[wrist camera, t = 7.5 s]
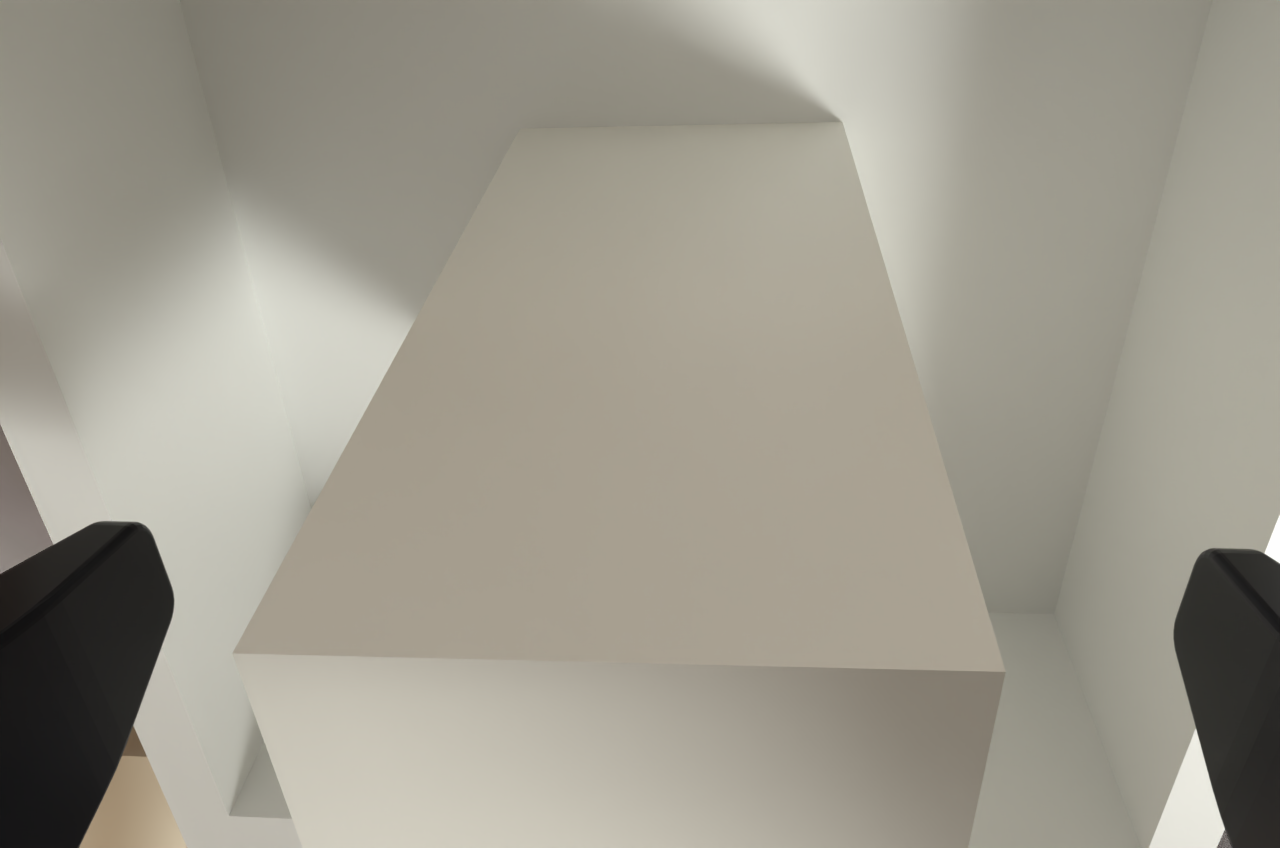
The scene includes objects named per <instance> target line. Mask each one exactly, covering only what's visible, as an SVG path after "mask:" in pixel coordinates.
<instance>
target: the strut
mask: <svg viewBox="0 0 1280 848" xmlns="http://www.w3.org/2000/svg"><path fill="white" fill-rule="evenodd" d="M232 654H233V657H234V660H235V662H236V665H237V668H238V671H239V674H240V676H241V679H242V682H243V685H244V687H245V690H246V693H247V696H248V698H249V701H250V704H251V707H252V709H253V712H254V715H255V718H256V720H257V723H258V726H259V729H260V732H261V734H262V737H263V740H264V743H265V745H266V748H267V751H268V754H269V756H270V759H271V762H272V765H273V767H274V770H275V773H276V776H277V778H278V781H279V784H280V787H281V789H282V792H283V795H284V798H285V801H286V803H287V806H288V809H289V812H290V814H291V817H292V820H293V823H294V825H295V828H296V831H297V834H298V836H299V839H300V842H301V845H302V847H303V848H968V846H969V842H970V837H971V832H972V828H973V823H974V818H975V813H976V809H977V804H978V799H979V795H980V790H981V785H982V781H983V776H984V771H985V767H986V762H987V757H988V753H989V748H990V743H991V739H992V734H993V729H994V725H995V720H996V715H997V711H998V706H999V701H1000V696H1001V692H1002V687H1003V682H1004V678H1005V673H1006V671H1005V668H1004V664H1003V661H1002V658H1001V654H1000V651H999V647H998V644H997V641H996V637H995V634H994V631H993V627H992V624H991V621H990V617H989V614H988V610H987V607H986V604H985V600H984V597H983V594H982V590H981V587H980V583H979V580H978V577H977V573H976V570H975V567H974V563H973V560H972V557H971V553H970V550H969V546H968V543H967V540H966V536H965V533H964V530H963V526H962V523H961V519H960V516H959V513H958V509H957V506H956V503H955V499H954V496H953V492H952V489H951V486H950V482H949V479H948V476H947V472H946V469H945V466H944V462H943V459H942V455H941V452H940V449H939V445H938V442H937V439H936V435H935V432H934V428H933V425H932V422H931V418H930V415H929V412H928V408H927V405H926V402H925V398H924V395H923V391H922V388H921V385H920V381H919V378H918V375H917V371H916V368H915V364H914V361H913V358H912V354H911V351H910V348H909V344H908V341H907V337H906V334H905V331H904V327H903V324H902V321H901V317H900V314H899V311H898V307H897V304H896V300H895V297H894V294H893V290H892V287H891V284H890V280H889V277H888V273H887V270H886V267H885V263H884V260H883V257H882V253H881V250H880V247H879V243H878V240H877V236H876V233H875V230H874V226H873V223H872V220H871V216H870V213H869V209H868V206H867V203H866V199H865V196H864V193H863V189H862V186H861V182H860V179H859V176H858V172H857V169H856V166H855V162H854V159H853V156H852V152H851V149H850V145H849V142H848V139H847V135H846V132H845V129H844V125H843V122H814V123H765V124H715V125H666V126H617V127H568V128H520V130H519V132H518V133H517V135H516V137H515V139H514V141H513V143H512V144H511V146H510V148H509V150H508V152H507V153H506V155H505V157H504V159H503V161H502V163H501V164H500V166H499V168H498V170H497V172H496V174H495V175H494V177H493V179H492V181H491V183H490V184H489V186H488V188H487V190H486V192H485V194H484V195H483V197H482V199H481V201H480V203H479V205H478V206H477V208H476V210H475V212H474V214H473V215H472V217H471V219H470V221H469V223H468V225H467V226H466V228H465V230H464V232H463V234H462V236H461V237H460V239H459V241H458V243H457V245H456V246H455V248H454V250H453V252H452V254H451V256H450V257H449V259H448V261H447V263H446V265H445V267H444V268H443V270H442V272H441V274H440V276H439V277H438V279H437V281H436V283H435V285H434V287H433V288H432V290H431V292H430V294H429V296H428V297H427V299H426V301H425V303H424V305H423V307H422V308H421V310H420V312H419V314H418V316H417V318H416V319H415V321H414V323H413V325H412V327H411V328H410V330H409V332H408V334H407V336H406V338H405V339H404V341H403V343H402V345H401V347H400V349H399V350H398V352H397V354H396V356H395V358H394V359H393V361H392V363H391V365H390V367H389V369H388V370H387V372H386V374H385V376H384V378H383V380H382V381H381V383H380V385H379V387H378V389H377V390H376V392H375V394H374V396H373V398H372V400H371V401H370V403H369V405H368V407H367V409H366V411H365V412H364V414H363V416H362V418H361V420H360V421H359V423H358V425H357V427H356V429H355V431H354V432H353V434H352V436H351V438H350V440H349V441H348V443H347V445H346V447H345V449H344V451H343V452H342V454H341V456H340V458H339V460H338V462H337V463H336V465H335V467H334V469H333V471H332V472H331V474H330V476H329V478H328V480H327V482H326V483H325V485H324V487H323V489H322V491H321V493H320V494H319V496H318V498H317V500H316V502H315V503H314V505H313V507H312V509H311V511H310V513H309V514H308V516H307V518H306V520H305V522H304V524H303V525H302V527H301V529H300V531H299V533H298V534H297V536H296V538H295V540H294V542H293V544H292V545H291V547H290V549H289V551H288V553H287V554H286V556H285V558H284V560H283V562H282V564H281V565H280V567H279V569H278V571H277V573H276V575H275V576H274V578H273V580H272V582H271V584H270V585H269V587H268V589H267V591H266V593H265V595H264V596H263V598H262V600H261V602H260V604H259V606H258V607H257V609H256V611H255V613H254V615H253V616H252V618H251V620H250V622H249V624H248V626H247V627H246V629H245V631H244V633H243V635H242V637H241V638H240V640H239V642H238V644H237V646H236V647H235V649H234V651H233V653H232Z"/></svg>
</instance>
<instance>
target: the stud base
mask: <svg viewBox="0 0 1280 848" xmlns="http://www.w3.org/2000/svg"><path fill="white" fill-rule="evenodd" d="M79 848H187V846H186V844H185V841H184V839H183V837H182V835H181V832H180V830H179V828H178V825H177V823H176V821H175V819H174V816H173V814H172V812H171V810H170V807H169V805H168V803H167V801H166V798H165V796H164V794H163V792H162V789H161V787H160V785H159V782H158V780H157V778H156V776H155V773H154V771H153V769H152V767H151V764H150V762H149V760H148V758H147V755H146V753H145V751H144V749H143V746H142V744H141V742H140V739H139V737H138V735H137V733H136V730H135V728H134V726H133V728H132V731H131V733H130V736H129V739H128V742H127V744H126V747H125V749H124V752H123V754H122V757H121V759H120V762H119V764H118V767H117V769H116V771H115V774H114V776H113V778H112V780H111V782H110V785H109V787H108V789H107V791H106V793H105V795H104V798H103V800H102V802H101V804H100V806H99V808H98V810H97V812H96V814H95V816H94V818H93V820H92V822H91V824H90V826H89V828H88V830H87V832H86V834H85V836H84V839H83V841H82V843H81V845H80V847H79Z"/></svg>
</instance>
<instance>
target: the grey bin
mask: <svg viewBox="0 0 1280 848" xmlns="http://www.w3.org/2000/svg"><path fill="white" fill-rule="evenodd" d="M814 122H843V125H844V129H845V132H846V135H847V139H848V142H849V145H850V149H851V152H852V156H853V159H854V162H855V166H856V169H857V172H858V176H859V179H860V182H861V186H862V189H863V193H864V196H865V199H866V203H867V206H868V209H869V213H870V216H871V220H872V223H873V226H874V230H875V233H876V236H877V240H878V243H879V247H880V250H881V253H882V257H883V260H884V263H885V267H886V270H887V273H888V277H889V280H890V284H891V287H892V290H893V294H894V297H895V300H896V304H897V307H898V311H899V314H900V317H901V321H902V324H903V327H904V331H905V334H906V337H907V341H908V344H909V348H910V351H911V354H912V358H913V361H914V364H915V368H916V371H917V375H918V378H919V381H920V385H921V388H922V391H923V395H924V398H925V402H926V405H927V408H928V412H929V415H930V418H931V422H932V425H933V428H934V432H935V435H936V439H937V442H938V445H939V449H940V452H941V455H942V459H943V462H944V466H945V469H946V472H947V476H948V479H949V482H950V486H951V489H952V492H953V496H954V499H955V503H956V506H957V509H958V513H959V516H960V519H961V523H962V526H963V530H964V533H965V536H966V540H967V543H968V546H969V550H970V553H971V557H972V560H973V563H974V567H975V570H976V573H977V577H978V580H979V583H980V587H981V590H982V594H983V597H984V600H985V604H986V607H987V610H988V614H989V617H990V621H991V624H992V627H993V631H994V634H995V637H996V641H997V644H998V647H999V651H1000V654H1001V658H1002V661H1003V664H1004V668H1005V671H1006V673H1005V678H1004V682H1003V687H1002V692H1001V696H1000V701H999V706H998V711H997V715H996V720H995V725H994V729H993V734H992V739H991V743H990V748H989V753H988V757H987V762H986V767H985V771H984V776H983V781H982V785H981V790H980V795H979V799H978V804H977V809H976V813H975V818H974V823H973V828H972V832H971V837H970V842H969V846H968V848H1217V846H1218V844H1219V841H1220V839H1221V837H1222V835H1223V833H1224V830H1225V828H1224V825H1223V822H1222V819H1221V816H1220V813H1219V810H1218V806H1217V803H1216V800H1215V796H1214V793H1213V790H1212V786H1211V782H1210V779H1209V775H1208V771H1207V768H1206V764H1205V760H1204V756H1203V753H1202V749H1201V745H1200V741H1199V738H1198V734H1197V730H1196V727H1195V723H1194V719H1193V715H1192V712H1191V708H1190V704H1189V701H1188V697H1187V693H1186V689H1185V686H1184V682H1183V678H1182V675H1181V671H1180V667H1179V663H1178V660H1177V656H1176V652H1175V648H1174V640H1173V630H1174V622H1175V619H1176V615H1177V612H1178V610H1179V607H1180V604H1181V601H1182V598H1183V595H1184V592H1185V589H1186V586H1187V584H1188V581H1189V578H1190V575H1191V572H1192V569H1193V566H1194V564H1195V562H1196V559H1197V557H1198V556H1199V555H1200V554H1201V553H1202V552H1203V551H1205V550H1207V549H1210V548H1235V549H1254V550H1258V551H1261V552H1263V553H1264V554H1266V555H1268V556H1269V557H1271V558H1272V559H1274V560H1276V561H1277V562H1279V563H1280V0H0V425H1V427H2V429H3V432H4V434H5V436H6V438H7V441H8V443H9V445H10V448H11V450H12V452H13V454H14V457H15V459H16V461H17V463H18V466H19V468H20V470H21V472H22V475H23V477H24V479H25V481H26V484H27V486H28V488H29V491H30V493H31V495H32V497H33V500H34V502H35V504H36V506H37V509H38V511H39V513H40V515H41V518H42V520H43V522H44V524H45V527H46V529H47V531H48V534H49V536H50V538H51V540H52V543H53V545H54V544H56V543H57V542H59V541H61V540H63V539H65V538H67V537H68V536H70V535H72V534H74V533H76V532H77V531H79V530H81V529H83V528H85V527H86V526H88V525H90V524H92V523H95V522H99V521H132V522H139V523H142V524H144V525H146V526H147V527H148V528H149V529H150V531H151V532H152V534H153V536H154V539H155V542H156V545H157V547H158V550H159V553H160V555H161V558H162V561H163V564H164V566H165V569H166V572H167V574H168V577H169V580H170V582H171V585H172V588H173V592H174V612H173V616H172V620H171V623H170V626H169V628H168V631H167V634H166V637H165V639H164V642H163V645H162V648H161V650H160V653H159V656H158V659H157V662H156V664H155V667H154V670H153V673H152V675H151V678H150V681H149V684H148V686H147V689H146V692H145V695H144V697H143V700H142V703H141V706H140V708H139V711H138V714H137V717H136V720H135V722H134V725H133V726H134V728H135V730H136V733H137V735H138V737H139V739H140V742H141V744H142V746H143V749H144V751H145V753H146V755H147V758H148V760H149V762H150V764H151V767H152V769H153V771H154V773H155V776H156V778H157V780H158V782H159V785H160V787H161V789H162V792H163V794H164V796H165V798H166V801H167V803H168V805H169V807H170V810H171V812H172V814H173V816H174V819H175V821H176V823H177V825H178V828H179V830H180V832H181V835H182V837H183V839H184V841H185V844H186V846H187V848H303V847H302V845H301V842H300V839H299V836H298V834H297V831H296V828H295V825H294V823H293V820H292V817H291V814H290V812H289V809H288V806H287V803H286V801H285V798H284V795H283V792H282V789H281V787H280V784H279V781H278V778H277V776H276V773H275V770H274V767H273V765H272V762H271V759H270V756H269V754H268V751H267V748H266V745H265V743H264V740H263V737H262V734H261V732H260V729H259V726H258V723H257V720H256V718H255V715H254V712H253V709H252V707H251V704H250V701H249V698H248V696H247V693H246V690H245V687H244V685H243V682H242V679H241V676H240V674H239V671H238V668H237V665H236V662H235V660H234V657H233V654H232V653H233V651H234V649H235V647H236V646H237V644H238V642H239V640H240V638H241V637H242V635H243V633H244V631H245V629H246V627H247V626H248V624H249V622H250V620H251V618H252V616H253V615H254V613H255V611H256V609H257V607H258V606H259V604H260V602H261V600H262V598H263V596H264V595H265V593H266V591H267V589H268V587H269V585H270V584H271V582H272V580H273V578H274V576H275V575H276V573H277V571H278V569H279V567H280V565H281V564H282V562H283V560H284V558H285V556H286V554H287V553H288V551H289V549H290V547H291V545H292V544H293V542H294V540H295V538H296V536H297V534H298V533H299V531H300V529H301V527H302V525H303V524H304V522H305V520H306V518H307V516H308V514H309V513H310V511H311V509H312V507H313V505H314V503H315V502H316V500H317V498H318V496H319V494H320V493H321V491H322V489H323V487H324V485H325V483H326V482H327V480H328V478H329V476H330V474H331V472H332V471H333V469H334V467H335V465H336V463H337V462H338V460H339V458H340V456H341V454H342V452H343V451H344V449H345V447H346V445H347V443H348V441H349V440H350V438H351V436H352V434H353V432H354V431H355V429H356V427H357V425H358V423H359V421H360V420H361V418H362V416H363V414H364V412H365V411H366V409H367V407H368V405H369V403H370V401H371V400H372V398H373V396H374V394H375V392H376V390H377V389H378V387H379V385H380V383H381V381H382V380H383V378H384V376H385V374H386V372H387V370H388V369H389V367H390V365H391V363H392V361H393V359H394V358H395V356H396V354H397V352H398V350H399V349H400V347H401V345H402V343H403V341H404V339H405V338H406V336H407V334H408V332H409V330H410V328H411V327H412V325H413V323H414V321H415V319H416V318H417V316H418V314H419V312H420V310H421V308H422V307H423V305H424V303H425V301H426V299H427V297H428V296H429V294H430V292H431V290H432V288H433V287H434V285H435V283H436V281H437V279H438V277H439V276H440V274H441V272H442V270H443V268H444V267H445V265H446V263H447V261H448V259H449V257H450V256H451V254H452V252H453V250H454V248H455V246H456V245H457V243H458V241H459V239H460V237H461V236H462V234H463V232H464V230H465V228H466V226H467V225H468V223H469V221H470V219H471V217H472V215H473V214H474V212H475V210H476V208H477V206H478V205H479V203H480V201H481V199H482V197H483V195H484V194H485V192H486V190H487V188H488V186H489V184H490V183H491V181H492V179H493V177H494V175H495V174H496V172H497V170H498V168H499V166H500V164H501V163H502V161H503V159H504V157H505V155H506V153H507V152H508V150H509V148H510V146H511V144H512V143H513V141H514V139H515V137H516V135H517V133H518V132H519V130H520V128H568V127H617V126H666V125H715V124H765V123H814Z"/></svg>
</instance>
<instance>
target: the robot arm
mask: <svg viewBox="0 0 1280 848" xmlns="http://www.w3.org/2000/svg"><path fill="white" fill-rule="evenodd" d="M173 612H174V592H173V588H172V585H171V582H170V580H169V577H168V574H167V572H166V569H165V566H164V564H163V561H162V558H161V555H160V553H159V550H158V547H157V545H156V542H155V539H154V536H153V534H152V532H151V531H150V529H149V528H148V527H147V526H146V525H144V524H142V523H139V522H132V521H99V522H95V523H92V524H90V525H88V526H86V527H85V528H83V529H81V530H79V531H77V532H76V533H74V534H72V535H70V536H68V537H67V538H65V539H63V540H61V541H59V542H57V543H56V544H54V545H52V546H50V547H48V548H47V549H45V550H43V551H41V552H39V553H38V554H36V555H34V556H32V557H30V558H29V559H27V560H25V561H23V562H21V563H20V564H18V565H16V566H14V567H12V568H10V569H9V570H7V571H5V572H3V573H1V574H0V848H79V847H80V845H81V843H82V841H83V839H84V836H85V834H86V832H87V830H88V828H89V826H90V824H91V822H92V820H93V818H94V816H95V814H96V812H97V810H98V808H99V806H100V804H101V802H102V800H103V798H104V795H105V793H106V791H107V789H108V787H109V785H110V782H111V780H112V778H113V776H114V774H115V771H116V769H117V767H118V764H119V762H120V759H121V757H122V754H123V752H124V749H125V747H126V744H127V742H128V739H129V736H130V733H131V731H132V728H133V725H134V722H135V720H136V717H137V714H138V711H139V708H140V706H141V703H142V700H143V697H144V695H145V692H146V689H147V686H148V684H149V681H150V678H151V675H152V673H153V670H154V667H155V664H156V662H157V659H158V656H159V653H160V650H161V648H162V645H163V642H164V639H165V637H166V634H167V631H168V628H169V626H170V623H171V620H172V616H173ZM1173 640H1174V648H1175V652H1176V656H1177V660H1178V663H1179V667H1180V671H1181V675H1182V678H1183V682H1184V686H1185V689H1186V693H1187V697H1188V701H1189V704H1190V708H1191V712H1192V715H1193V719H1194V723H1195V727H1196V730H1197V734H1198V738H1199V741H1200V745H1201V749H1202V753H1203V756H1204V760H1205V764H1206V768H1207V771H1208V775H1209V779H1210V782H1211V786H1212V790H1213V793H1214V796H1215V800H1216V803H1217V806H1218V810H1219V813H1220V816H1221V819H1222V822H1223V825H1224V828H1225V830H1226V833H1227V836H1228V838H1229V841H1230V844H1231V847H1232V848H1280V563H1279V562H1277V561H1276V560H1274V559H1272V558H1271V557H1269V556H1268V555H1266V554H1264V553H1263V552H1261V551H1258V550H1254V549H1235V548H1210V549H1207V550H1205V551H1203V552H1202V553H1201V554H1200V555H1199V556H1198V557H1197V559H1196V562H1195V564H1194V566H1193V569H1192V572H1191V575H1190V578H1189V581H1188V584H1187V586H1186V589H1185V592H1184V595H1183V598H1182V601H1181V604H1180V607H1179V610H1178V612H1177V615H1176V619H1175V622H1174V630H1173Z"/></svg>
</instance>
